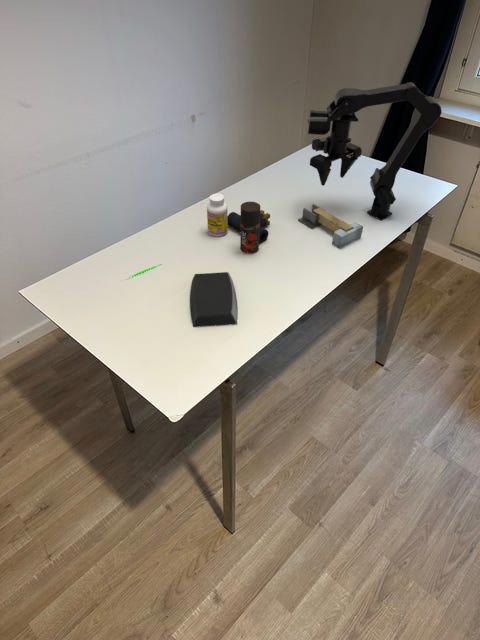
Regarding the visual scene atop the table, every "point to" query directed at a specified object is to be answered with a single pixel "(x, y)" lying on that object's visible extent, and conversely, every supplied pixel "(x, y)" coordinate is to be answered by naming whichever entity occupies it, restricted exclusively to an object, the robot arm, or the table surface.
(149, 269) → the pen
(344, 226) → the tan square rod
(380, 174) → the robot arm
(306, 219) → the grey sleeve
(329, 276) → the table surface
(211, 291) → the external hard drive
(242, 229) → the deodorant
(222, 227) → the supplement bottle
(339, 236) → the slate-blue socket
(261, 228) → the pipe connector
